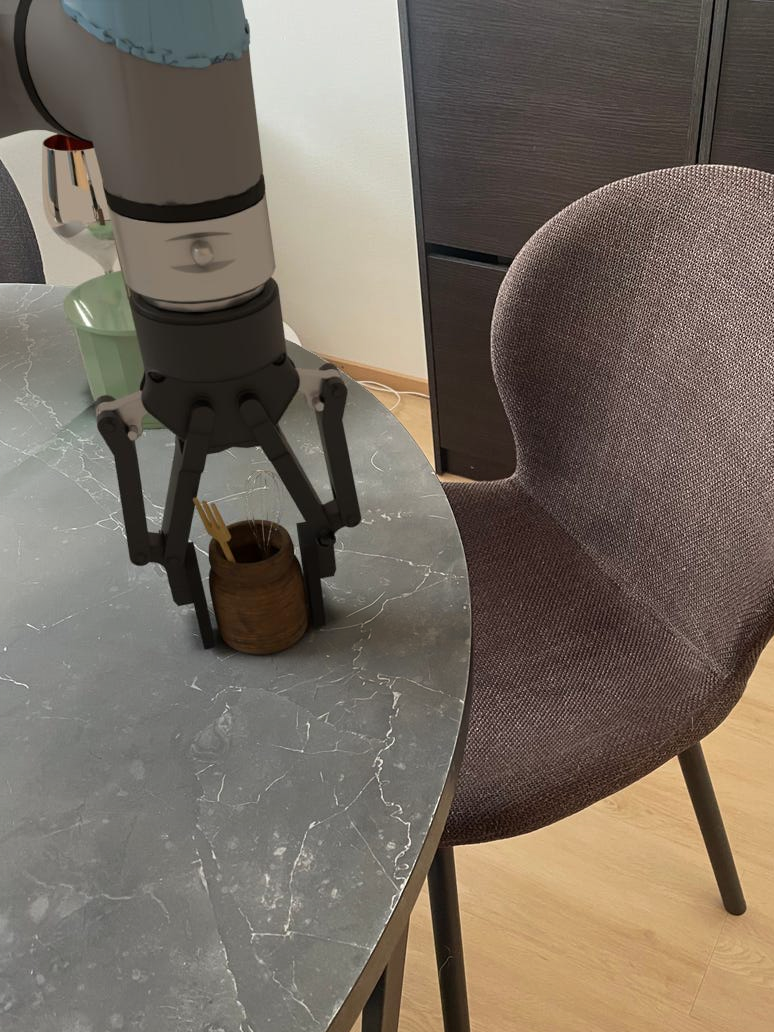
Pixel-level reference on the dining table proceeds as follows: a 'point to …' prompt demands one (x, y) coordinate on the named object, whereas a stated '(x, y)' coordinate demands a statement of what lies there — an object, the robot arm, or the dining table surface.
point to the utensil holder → (255, 581)
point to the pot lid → (102, 305)
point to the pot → (113, 367)
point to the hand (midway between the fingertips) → (262, 623)
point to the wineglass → (77, 198)
